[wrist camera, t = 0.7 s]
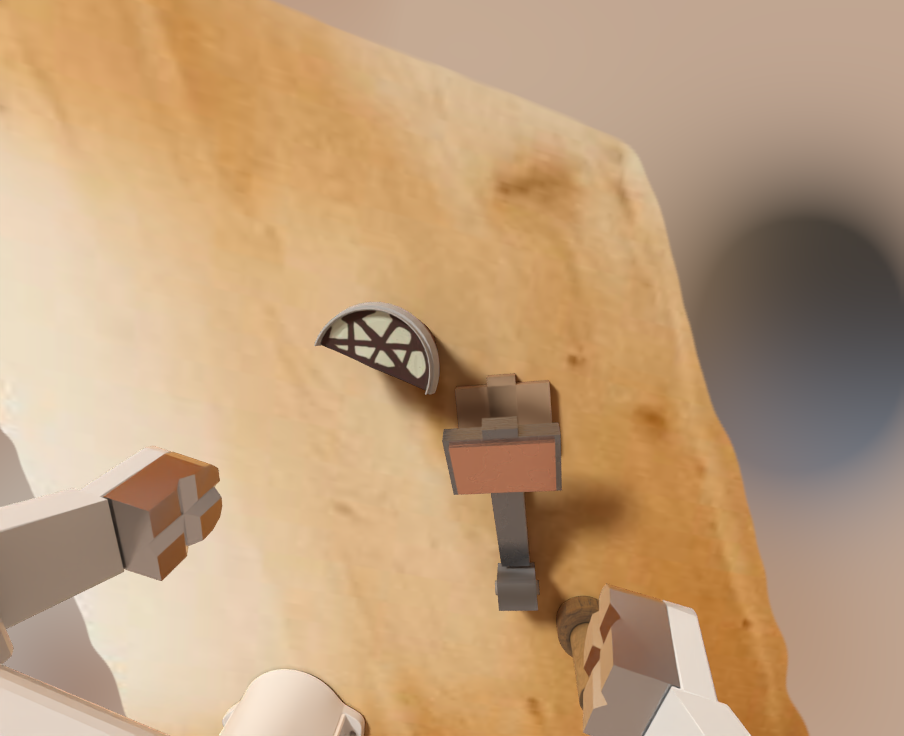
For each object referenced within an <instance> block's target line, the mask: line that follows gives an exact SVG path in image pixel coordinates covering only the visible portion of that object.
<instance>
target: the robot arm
mask: <svg viewBox="0 0 904 736" xmlns="http://www.w3.org/2000/svg"><path fill="white" fill-rule="evenodd" d="M219 481H220V478H219V472H218V468H217V467H215V466H213V465H211V464H208V463H205V462H202V461H199V460H196V459H193V458H190V457H187V456H184V455H181V454H178V453H175V452H171V451H168V450H165V449H162V448H159V447H156V446H150V447H145V448H143V449H142V450H140V451H138V452H137V453H135V454H134V455H132V456H131V457H129V458H128V459H126V460H125V461H123V462H121V463H120V464H118V465H117V466H115V467H114V468H112V469H111V470H109V471H108V472H106V473H104V474H103V475H101V476H100V477H98V478H97V479H95V480H94V481H92V482H91V483H89V484H87V485H86V486H84V487H83V488H81V489H80V490H79V489H75V488H70V489H67V490H63V491H59V492H56V493H52V494H48V495H44V496H41V497H37V498H33V499H29V500H26V501H22V502H19V503H15V504H11V505H7V506H3V507H0V736H170V735H168V734H165V733H163V732H160V731H158V730H156V729H153V728H151V727H149V726H146V725H144V724H142V723H139V722H137V721H134V720H132V719H130V718H127V717H125V716H123V715H120V714H118V713H115V712H113V711H110V710H108V709H106V708H104V707H101V706H99V705H97V704H94V703H91V702H89V701H87V700H85V699H82V698H80V697H78V696H75V695H73V694H70V693H68V692H66V691H63V690H61V689H58V688H56V687H54V686H51V685H49V684H47V683H44V682H42V681H40V680H37V679H35V678H32V677H30V676H28V675H25V674H23V673H21V672H18V671H16V670H14V669H11V668H9V667H6V666H4V665H2V664H3V663H4V662H5V661H7V660H8V659H9V658H10V657H11V656H12V652H13V645H12V643H11V641H10V638H9V635H8V633H7V631H6V629H7V628H9V627H11V626H13V625H16V624H18V623H20V622H22V621H24V620H26V619H28V618H30V617H32V616H34V615H36V614H38V613H40V612H42V611H44V610H46V609H48V608H51V607H52V606H55V605H57V604H59V603H61V602H63V601H65V600H67V599H69V598H71V597H73V596H75V595H77V594H79V593H81V592H83V591H85V590H87V589H90V588H92V587H94V586H96V585H98V584H100V583H102V582H104V581H106V580H108V579H110V578H112V577H114V576H116V575H118V574H120V573H122V572H124V569H125V570H128V571H131V572H135V573H138V574H141V575H144V576H147V577H150V578H153V579H156V580H159V581H162V580H163V579H164V578H165V577H166V576H167V575H168V574H169V573H170V572H171V571H172V570H173V569H174V568H175V567H176V566H177V565H178V564H179V563H180V562H181V561H182V560H184V559H185V558H186V557H187V552H188V546H190V545H192V544H195V543H197V542H200V541H202V540H204V539H205V538H206V537H207V535H208V534H209V533H210V532H211V531H212V530H213V529H214V527H215V525H216V523H217V521H218V520H219V518H220V514H221V510H222V498H221V496H220V494H219V493H218V491H217V490H216V488H215V486H216V484H217V483H218V482H219ZM584 670H585V671H586V673H587V675H588V677H589V680H588V682H587V685H586V687H585V690H584V692H583V733H586V734H588V735H591V736H751V735H750V733H749V732H748V731H747V730H746V728H745V727H744V726H743V724H742V723H741V722H740V720H739V719H738V718H737V717H736V715H735V714H734V713H733V711H732V710H731V709H730V707H729V706H728V705H726V704H724V703H721V702H718V700H717V696H716V692H715V688H714V684H713V680H712V676H711V672H710V667H709V663H708V659H707V655H706V651H705V647H704V643H703V639H702V634H701V630H700V626H699V622H698V618H697V614H696V613H695V611H694V610H693V609H692V608H688V607H685V606H681V605H678V604H675V603H671V602H668V601H664V600H663V601H662V600H660V599H657V598H654V597H651V596H647V595H644V594H640V593H637V592H633V591H630V590H627V589H623V588H620V587H616V586H613V585H609V584H606V585H605V586H604V587H603V589H602V591H601V594H600V596H599V611H598V612H596V613H594V614H592V617H591V620H590V623H589V626H588V630H587V634H586V639H585V647H584ZM222 723H223V727H224V728H223V730H222V732H221V733H220V735H219V736H364V727H365V721H364V718H363V716H362V715H361V714H360V713H358V712H357V711H355V710H354V709H352V708H350V707H349V706H347V705H345V704H344V703H343V702H342V701H341V700H340V699H339V698H338V697H337V695H336V694H335V693H334V692H333V691H332V690H331V689H330V688H329V687H328V686H327V685H326V684H325V683H323V682H322V681H321V680H319V679H317V678H316V677H314V676H312V675H310V674H307V673H304V672H301V671H297V670H291V669H279V670H273V671H269V672H267V673H264V674H262V675H260V676H259V677H257V678H256V679H255V680H254V681H253V682H252V683H251V684H250V685H249V686H248V688H247V689H246V691H245V693H244V695H243V697H242V699H241V700H240V701H239V702H238V703H237V704H235V705H234V706H232V707H231V708H230V709H229V710H228V711H227V712H226V714H225V716H224V718H223V720H222ZM353 731H354V732H353Z"/></svg>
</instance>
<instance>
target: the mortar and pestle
mask: <svg viewBox="0 0 904 736" xmlns="http://www.w3.org/2000/svg"><path fill="white" fill-rule="evenodd" d="M598 611H599V600H597V599H595V598H592V597H588V596H578V597H574V598H571V599H569V600H567V601H566V602H564V603H563V604H562V605H561V607H560V608H559V610H558V613H557V618H556V624H557V631H558V638H559V642H560V644H561V646H562V648H563V649H564V650H565V651H566V652H567V653H568V654H569V655H570V656H571V657H573V660H574V667H575V674H576V681H577V688H578V696H579V702H580V706H581V708H582V710H583V692H584V690H585V687H586V685H587V682H588V680H589V677H588V675H587V673H586V671H585V670H584V647H585V639H586V634H587V630H588V626H589V623H590V620H591V617H592V614H594V613H596V612H598Z"/></svg>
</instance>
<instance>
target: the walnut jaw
mask: <svg viewBox="0 0 904 736" xmlns="http://www.w3.org/2000/svg"><path fill="white" fill-rule="evenodd" d="M455 396H456V406H457V417H458V428H475V427H482V418H498V417H514V416H517V425H525V424H542V423H552V413H551V399H550V385H549V381H548V380H545V381H531V382H517V383H516V381H515V374H502V375H488V376H487V385H475V386H461V387H456V388H455ZM524 503H525V494H524ZM525 514H526V507H525ZM526 526H527V520H526ZM527 537H528V532H527ZM528 548H529V545H528ZM529 561H530V557H529ZM495 592H496V595H498V603H499V611H529V610H538V604H537V595H540V593H539V580H536V578H535V565H534V562H533V563H530V566H509V567H502V565H501V563H498V573H497V581H495Z"/></svg>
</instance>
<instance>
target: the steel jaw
mask: <svg viewBox="0 0 904 736" xmlns="http://www.w3.org/2000/svg"><path fill="white" fill-rule="evenodd" d="M442 442H443V446H444V451H445V456H446V460H447V465H448V469H449V474H450V479H451V483H452V488H453V493H454V495H458V494H483V493H491V498H492V504H493V511H494V518H495V525H496V531H497V538H498V545H499V552H500V558H501V565H502V567H509V566H530V561H529V548H528V537H527V526H526V514H525V503H524V492H533V491H558V490H562V483H561V435H560V428H559V423H542V424H525V425H517V416H514V417H498V418H482V427H475V428H458V429H444V433H443V441H442Z"/></svg>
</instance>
